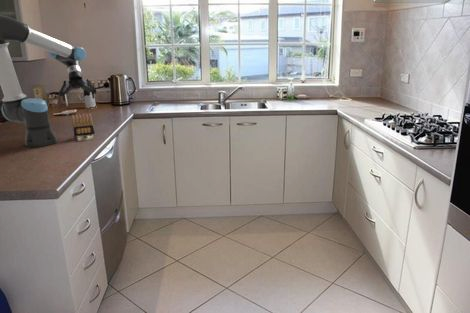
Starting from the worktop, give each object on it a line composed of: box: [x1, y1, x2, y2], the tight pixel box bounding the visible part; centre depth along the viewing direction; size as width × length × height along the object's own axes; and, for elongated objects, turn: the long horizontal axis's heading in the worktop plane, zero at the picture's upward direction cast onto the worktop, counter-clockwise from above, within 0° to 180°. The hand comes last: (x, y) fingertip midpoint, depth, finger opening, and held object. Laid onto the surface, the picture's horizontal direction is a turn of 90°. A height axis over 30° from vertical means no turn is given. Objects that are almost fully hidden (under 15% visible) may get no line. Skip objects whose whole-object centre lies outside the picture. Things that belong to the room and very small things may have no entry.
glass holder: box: [77, 89, 97, 108], centre depth 314 cm, size 9×14×15 cm, turn 77°
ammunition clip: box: [71, 112, 95, 137], centre depth 214 cm, size 11×2×12 cm, turn 109°
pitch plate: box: [76, 134, 95, 142], centre depth 215 cm, size 8×17×2 cm, turn 24°
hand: (79, 103), depth 219 cm, fingers open, 13 cm apart
